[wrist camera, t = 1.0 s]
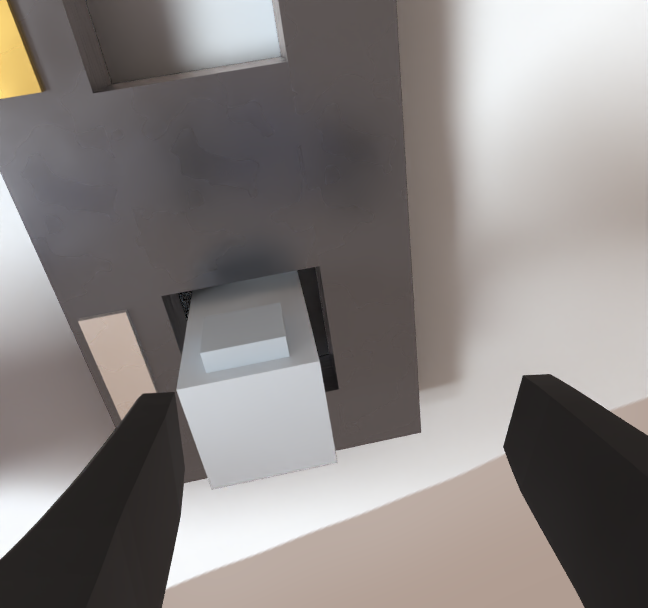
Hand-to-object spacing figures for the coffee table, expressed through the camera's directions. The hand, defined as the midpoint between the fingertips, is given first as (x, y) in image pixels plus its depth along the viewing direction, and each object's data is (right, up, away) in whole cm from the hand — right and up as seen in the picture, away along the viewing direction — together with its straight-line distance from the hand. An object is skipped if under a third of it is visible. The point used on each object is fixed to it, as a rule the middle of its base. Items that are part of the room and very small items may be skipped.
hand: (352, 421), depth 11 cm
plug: (-3, +2, +11) cm, 11 cm away
